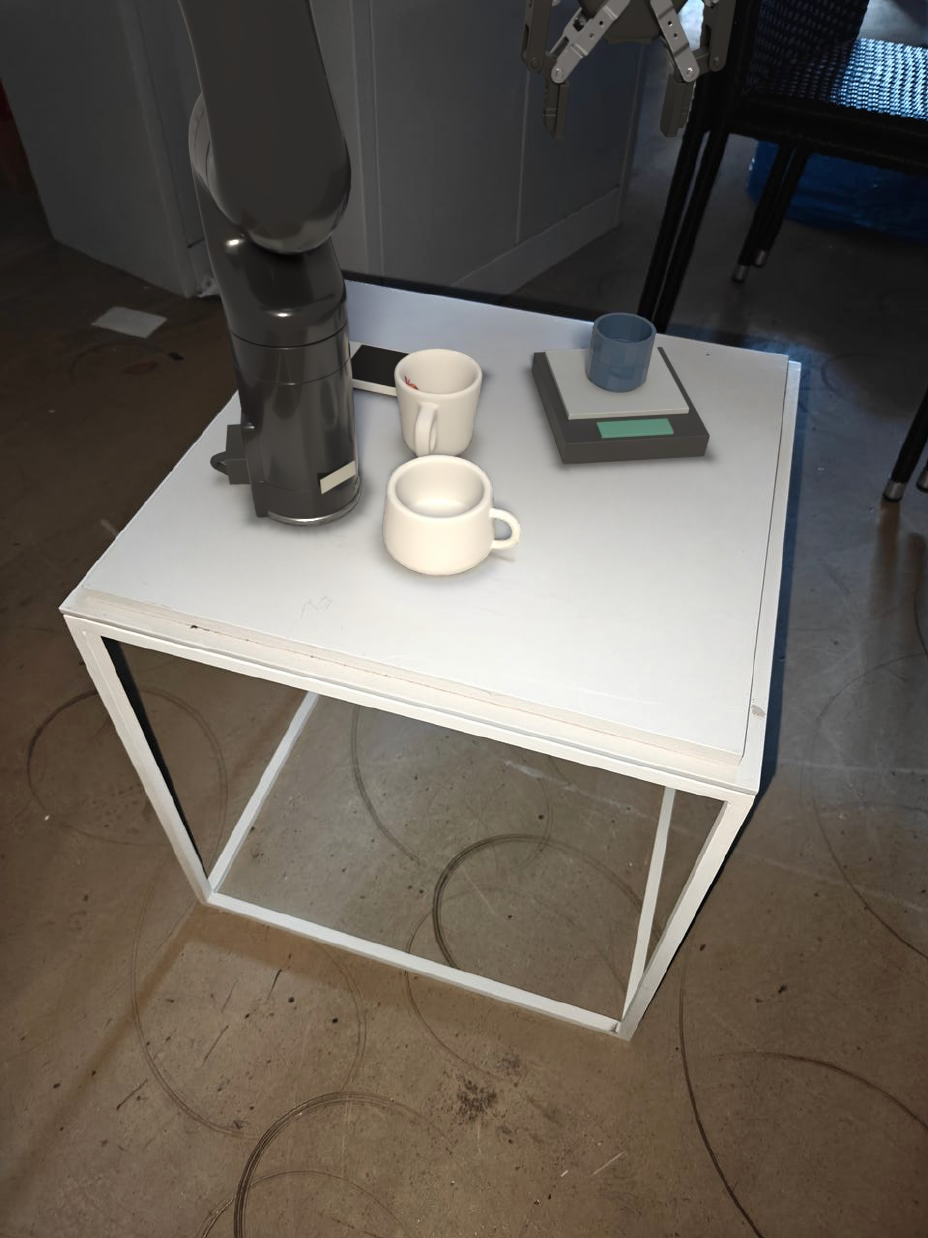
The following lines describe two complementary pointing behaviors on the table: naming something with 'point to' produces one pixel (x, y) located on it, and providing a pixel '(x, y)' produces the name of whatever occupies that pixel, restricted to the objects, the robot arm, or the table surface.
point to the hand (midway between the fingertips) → (611, 134)
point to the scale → (617, 412)
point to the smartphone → (374, 367)
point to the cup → (438, 400)
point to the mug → (442, 516)
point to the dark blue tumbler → (620, 351)
